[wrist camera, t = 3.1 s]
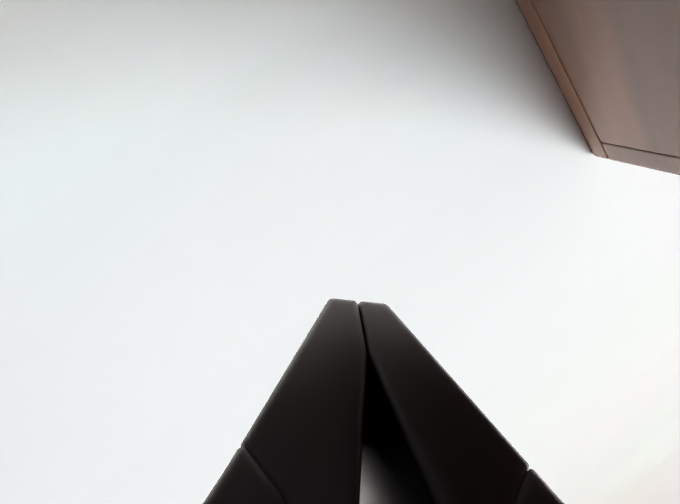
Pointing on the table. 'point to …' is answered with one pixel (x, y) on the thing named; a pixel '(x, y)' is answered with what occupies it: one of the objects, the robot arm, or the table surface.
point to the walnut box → (617, 73)
